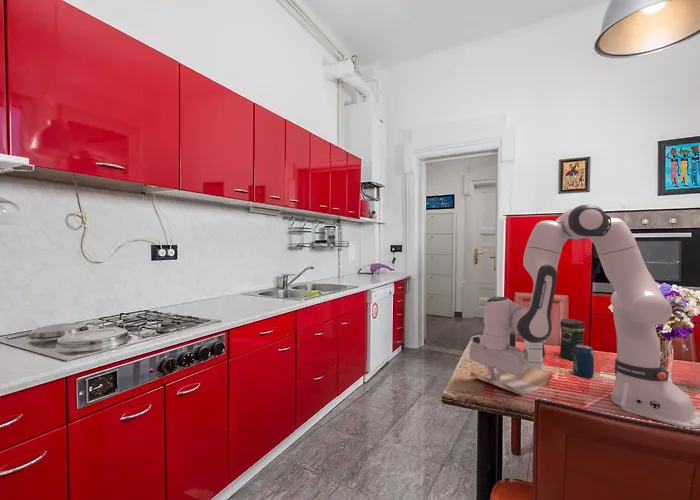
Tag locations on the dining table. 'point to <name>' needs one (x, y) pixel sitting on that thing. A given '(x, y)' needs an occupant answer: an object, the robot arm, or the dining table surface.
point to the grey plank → (516, 383)
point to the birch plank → (498, 384)
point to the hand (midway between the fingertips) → (495, 379)
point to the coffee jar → (570, 336)
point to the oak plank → (533, 377)
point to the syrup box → (533, 355)
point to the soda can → (583, 361)
